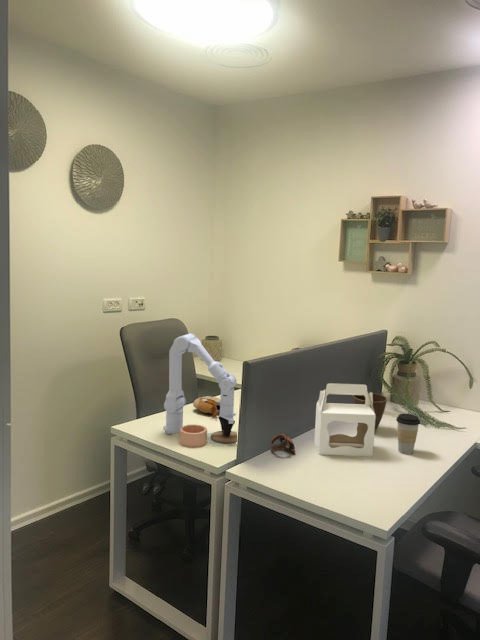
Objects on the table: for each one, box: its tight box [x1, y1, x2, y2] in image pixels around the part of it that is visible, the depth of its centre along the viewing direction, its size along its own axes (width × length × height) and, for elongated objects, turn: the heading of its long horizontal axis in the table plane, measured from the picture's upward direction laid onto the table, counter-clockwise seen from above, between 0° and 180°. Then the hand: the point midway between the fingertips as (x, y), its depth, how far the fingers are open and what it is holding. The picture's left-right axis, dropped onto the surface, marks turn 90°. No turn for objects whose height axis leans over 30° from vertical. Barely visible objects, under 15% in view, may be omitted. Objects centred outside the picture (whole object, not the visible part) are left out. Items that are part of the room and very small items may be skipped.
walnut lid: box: [211, 429, 237, 443], centre depth 216 cm, size 13×13×3 cm
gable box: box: [313, 382, 376, 457], centre depth 208 cm, size 22×13×28 cm, turn 90°
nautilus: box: [192, 395, 220, 419], centre depth 248 cm, size 8×22×15 cm
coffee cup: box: [395, 413, 421, 455], centre depth 209 cm, size 9×9×15 cm
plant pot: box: [353, 392, 388, 433], centre depth 233 cm, size 15×15×16 cm
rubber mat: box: [207, 430, 238, 447], centre depth 216 cm, size 15×15×1 cm
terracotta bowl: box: [179, 424, 208, 448], centre depth 210 cm, size 11×11×6 cm
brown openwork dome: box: [269, 433, 296, 455], centre depth 205 cm, size 12×10×8 cm
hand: (225, 434), depth 216 cm, fingers closed on walnut lid, 3 cm apart
